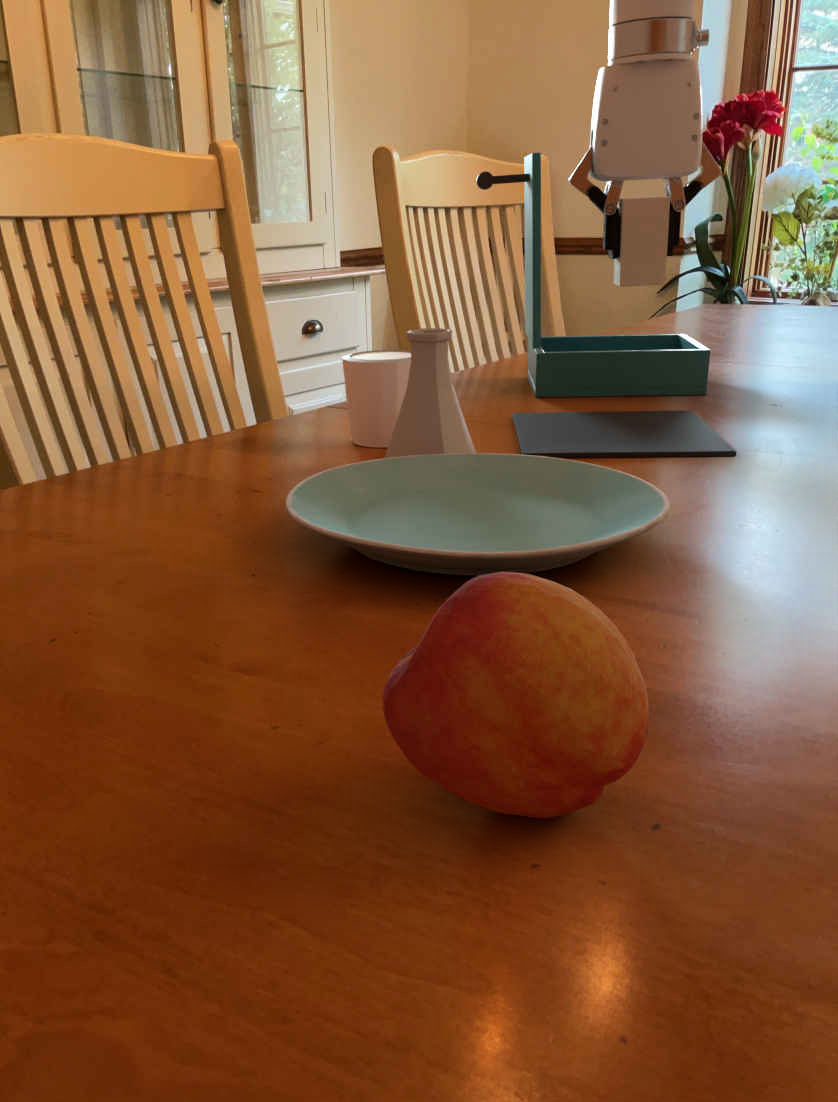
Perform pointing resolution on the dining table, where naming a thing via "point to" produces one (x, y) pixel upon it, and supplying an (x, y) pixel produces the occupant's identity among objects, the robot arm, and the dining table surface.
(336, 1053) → the dining table surface
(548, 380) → the box
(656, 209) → the beige rectangular block
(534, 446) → the mat
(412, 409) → the flask
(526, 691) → the fruit
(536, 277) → the lunchbox lid
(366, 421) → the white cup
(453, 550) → the plate
